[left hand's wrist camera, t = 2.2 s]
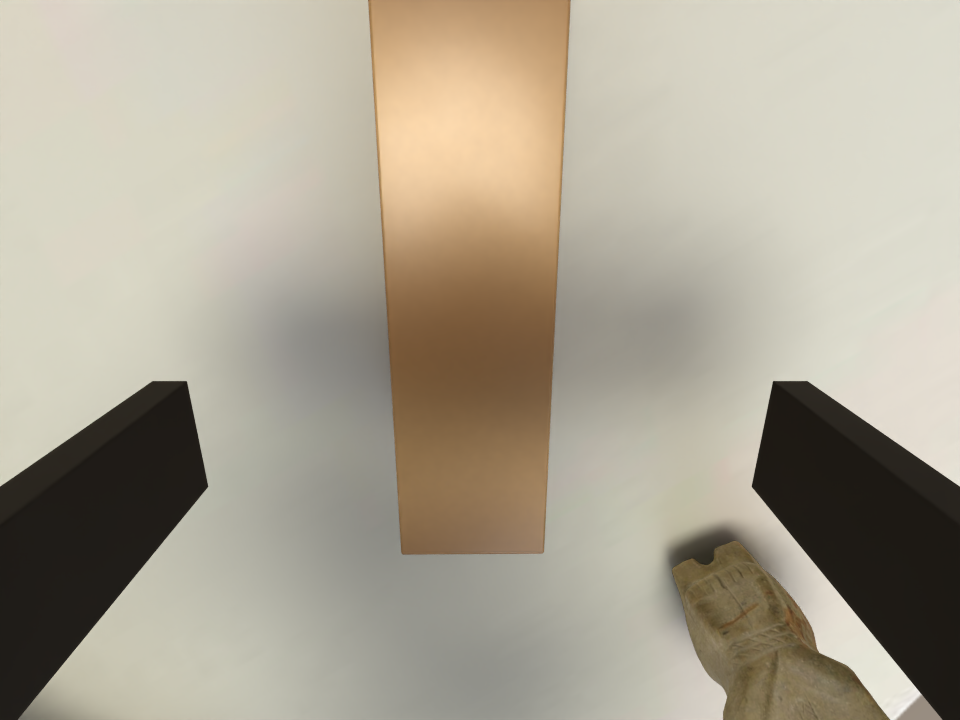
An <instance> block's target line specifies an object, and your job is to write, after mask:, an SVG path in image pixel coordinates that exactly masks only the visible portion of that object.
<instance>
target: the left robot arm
mask: <svg viewBox="0 0 960 720" xmlns="http://www.w3.org/2000/svg"><path fill="white" fill-rule="evenodd" d="M207 488H208V483H207V478H206V473H205V468H204V463H203V458H202V453H201V449H200V444H199V439H198V434H197V429H196V424H195V419H194V414H193V409H192V404H191V399H190V394H189V390H188V385H187V381H152V382H151V383H149V384H148V385H146V386H145V387H144V388H142V389H141V390H139V391H138V392H136V393H135V394H133V395H132V396H131V397H129V398H128V399H126V400H125V401H123V402H122V403H120V404H119V405H118V406H116V407H115V408H113V409H112V410H110V411H109V412H107V413H106V414H105V415H103V416H102V417H100V418H99V419H97V420H96V421H94V422H93V423H92V424H90V425H89V426H87V427H86V428H84V429H83V430H81V431H80V432H79V433H77V434H76V435H74V436H73V437H71V438H70V439H68V440H67V441H66V442H64V443H63V444H61V445H60V446H58V447H57V448H55V449H54V450H53V451H51V452H50V453H48V454H47V455H45V456H44V457H42V458H41V459H40V460H38V461H37V462H35V463H34V464H32V465H31V466H29V467H28V468H27V469H25V470H24V471H22V472H21V473H19V474H18V475H16V476H15V477H14V478H12V479H11V480H9V481H8V482H6V483H5V484H3V485H2V486H1V487H0V720H18V718H19V717H20V716H21V715H22V713H23V712H24V711H25V710H26V709H27V707H28V706H29V705H30V704H31V702H32V701H33V700H34V699H35V698H36V696H37V695H38V694H39V693H40V691H41V690H42V689H43V688H44V687H45V685H46V684H47V683H48V682H49V680H50V679H51V678H52V677H53V676H54V674H55V673H56V672H57V671H58V670H59V668H60V667H61V666H62V665H63V663H64V662H65V661H66V660H67V659H68V657H69V656H70V655H71V654H72V652H73V651H74V650H75V649H76V648H77V646H78V645H79V644H80V643H81V641H82V640H83V639H84V638H85V637H86V635H87V634H88V633H89V632H90V630H91V629H92V628H93V627H94V626H95V624H96V623H97V622H98V621H99V619H100V618H101V617H102V616H103V615H104V613H105V612H106V611H107V610H108V608H109V607H110V606H111V605H112V604H113V602H114V601H115V600H116V599H117V597H118V596H119V595H120V594H121V593H122V591H123V590H124V589H125V588H126V586H127V585H128V584H129V583H130V582H131V580H132V579H133V578H134V577H135V575H136V574H137V573H138V572H139V571H140V569H141V568H142V567H143V566H144V564H145V563H146V562H147V561H148V560H149V558H150V557H151V556H152V555H153V553H154V552H155V551H156V550H157V549H158V547H159V546H160V545H161V544H162V542H163V541H164V540H165V539H166V538H167V536H168V535H169V534H170V533H171V532H172V530H173V529H174V528H175V527H176V525H177V524H178V523H179V522H180V521H181V519H182V518H183V517H184V516H185V514H186V513H187V512H188V511H189V510H190V508H191V507H192V506H193V505H194V503H195V502H196V501H197V500H198V499H199V497H200V496H201V495H202V494H203V492H204V491H205V490H206V489H207ZM752 488H753V489H754V490H755V491H756V492H757V494H758V495H759V496H760V497H761V499H762V500H763V501H764V502H765V503H766V505H767V506H768V507H769V508H770V510H771V511H772V512H773V513H774V514H775V516H776V517H777V518H778V519H779V521H780V522H781V523H782V524H783V525H784V527H785V528H786V529H787V530H788V532H789V533H790V534H791V535H792V536H793V538H794V539H795V540H796V541H797V542H798V544H799V545H800V546H801V547H802V549H803V550H804V551H805V552H806V553H807V555H808V556H809V557H810V558H811V560H812V561H813V562H814V563H815V564H816V566H817V567H818V568H819V569H820V571H821V572H822V573H823V574H824V575H825V577H826V578H827V579H828V580H829V582H830V583H831V584H832V585H833V586H834V588H835V589H836V590H837V591H838V593H839V594H840V595H841V596H842V597H843V599H844V600H845V601H846V602H847V604H848V605H849V606H850V607H851V608H852V610H853V611H854V612H855V613H856V615H857V616H858V617H859V618H860V619H861V621H862V622H863V623H864V624H865V626H866V627H867V628H868V629H869V630H870V632H871V633H872V634H873V635H874V637H875V638H876V639H877V640H878V641H879V643H880V644H881V645H882V646H883V648H884V649H885V650H886V651H887V652H888V654H889V655H890V656H891V657H892V659H893V660H894V661H895V662H896V663H897V665H898V666H899V667H900V668H901V670H902V671H903V672H904V673H905V674H906V676H907V677H908V678H909V679H910V681H911V682H912V683H913V684H914V685H915V687H916V688H917V689H918V690H919V691H920V693H921V694H922V695H923V696H924V698H925V699H926V700H927V701H928V702H929V704H930V705H931V706H932V707H933V709H934V710H935V711H936V712H937V713H938V715H939V716H940V717H941V718H942V720H960V487H959V486H958V485H957V484H955V483H954V482H952V481H951V480H949V479H948V478H946V477H945V476H944V475H942V474H941V473H939V472H938V471H936V470H935V469H933V468H932V467H931V466H929V465H928V464H926V463H925V462H923V461H922V460H920V459H919V458H918V457H916V456H915V455H913V454H912V453H910V452H909V451H907V450H906V449H905V448H903V447H902V446H900V445H899V444H897V443H896V442H894V441H893V440H892V439H890V438H889V437H887V436H886V435H884V434H883V433H881V432H880V431H879V430H877V429H876V428H874V427H873V426H871V425H870V424H868V423H867V422H866V421H864V420H863V419H861V418H860V417H858V416H857V415H855V414H854V413H853V412H851V411H850V410H848V409H847V408H845V407H844V406H842V405H841V404H840V403H838V402H837V401H835V400H834V399H832V398H831V397H829V396H828V395H827V394H825V393H824V392H822V391H821V390H819V389H818V388H816V387H815V386H814V385H812V384H811V383H809V382H808V381H773V385H772V390H771V394H770V399H769V404H768V409H767V414H766V419H765V424H764V429H763V434H762V439H761V444H760V449H759V453H758V458H757V463H756V468H755V473H754V478H753V483H752Z"/></svg>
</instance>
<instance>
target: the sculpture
mask: <svg viewBox="0 0 960 720" xmlns="http://www.w3.org/2000/svg"><path fill="white" fill-rule="evenodd" d="M713 554H714V559H713V561H712V563H710V564H708V565H703V564H700V563H698V562H697V561H696V560H695V559H693V558H692V559H689V560H686V561H684V562H682V563H680V564H678V565H677V566H675V567H674V568H673V569H672V573H673V576H674V579H675V582H676V585H677V587H678V590H679V593H680V596H681V599H682V603H683V607H684V611H685V614H686V622H687V626H688V630H689V633H690V637H691V640H692V642H693V645H694V648H695V651H696V653H697V656H698V658H699V660H700V662H701V663H702V665H703V667H704V669H705V670H706V672H707V673H708V675H709V676H710V677H711V678H712V679H713V680H714V681H716V682H717V683H718V684H720V685H721V686H722V687H723V688H724V690H725V692H726V694H727V700H726V704H725V707H724V711H723V720H890V719H889V718H888V717H887V715H886V714H885V713H884V712H883V710H882V709H881V708H880V707H879V705H878V704H877V703H876V701H875V700H874V699H873V697H872V696H871V694H870V693H869V692H868V690H867V689H866V688H865V687H864V686H863V684H862V683H861V681H860V680H859V679H858V677H857V676H856V674H855V673H854V672H853V671H852V670H851V669H850V668H849V667H848V666H846V665H845V664H842V663H840V662H838V661H836V660H834V659H831V658H829V657H827V656H825V655H822V654H820V653H819V652H818V650H817V647H816V642H815V637H814V633H813V630H812V627H811V626H810V624H809V622H808V620H807V619H806V617H805V615H804V614H803V612H802V610H801V609H800V607H799V606H798V605H797V604H796V602H795V601H794V600H793V599H792V597H791V596H790V595H789V594H788V592H787V591H786V590H785V589H784V588H783V587H782V586H781V585H780V584H779V583H778V581H777V580H776V579H775V578H774V577H772V576H771V575H770V574H769V573H767V572H766V571H765V570H763V568H762V567H761V566H760V565H759V564H758V562H757V561H756V560H755V559H754V558H753V557H752V556H751V554H750V553H749V552H748V551H747V550H746V549H745V548H744V547H743V546H742V545H741V544H740V543H739V542H737V541H732V542H730V543H727V544H725V545H722V546H719V547H717V548H716V549H715V550H714V552H713Z"/></svg>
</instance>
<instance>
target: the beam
mask: <svg viewBox="0 0 960 720" xmlns="http://www.w3.org/2000/svg"><path fill="white" fill-rule="evenodd" d="M570 2H571V0H368V5H369V21H370V38H371V55H372V72H373V88H374V105H375V122H376V138H377V155H378V172H379V188H380V205H381V222H382V239H383V255H384V272H385V289H386V305H387V322H388V339H389V356H390V372H391V389H392V406H393V422H394V439H395V456H396V473H397V489H398V506H399V523H400V539H401V553H402V554H542V553H543V552H544V539H545V518H546V498H547V477H548V456H549V436H550V415H551V394H552V374H553V353H554V333H555V312H556V291H557V271H558V250H559V229H560V209H561V188H562V167H563V147H564V126H565V106H566V85H567V64H568V44H569V23H570Z"/></svg>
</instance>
